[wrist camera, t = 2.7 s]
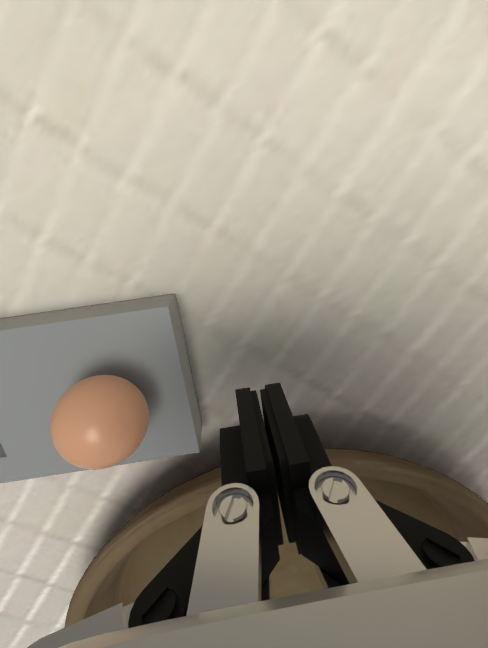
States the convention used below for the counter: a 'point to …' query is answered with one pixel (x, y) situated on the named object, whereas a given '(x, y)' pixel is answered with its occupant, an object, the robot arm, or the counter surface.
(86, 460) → the ball
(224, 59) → the counter surface
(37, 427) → the block
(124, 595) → the plant saucer
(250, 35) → the counter surface
